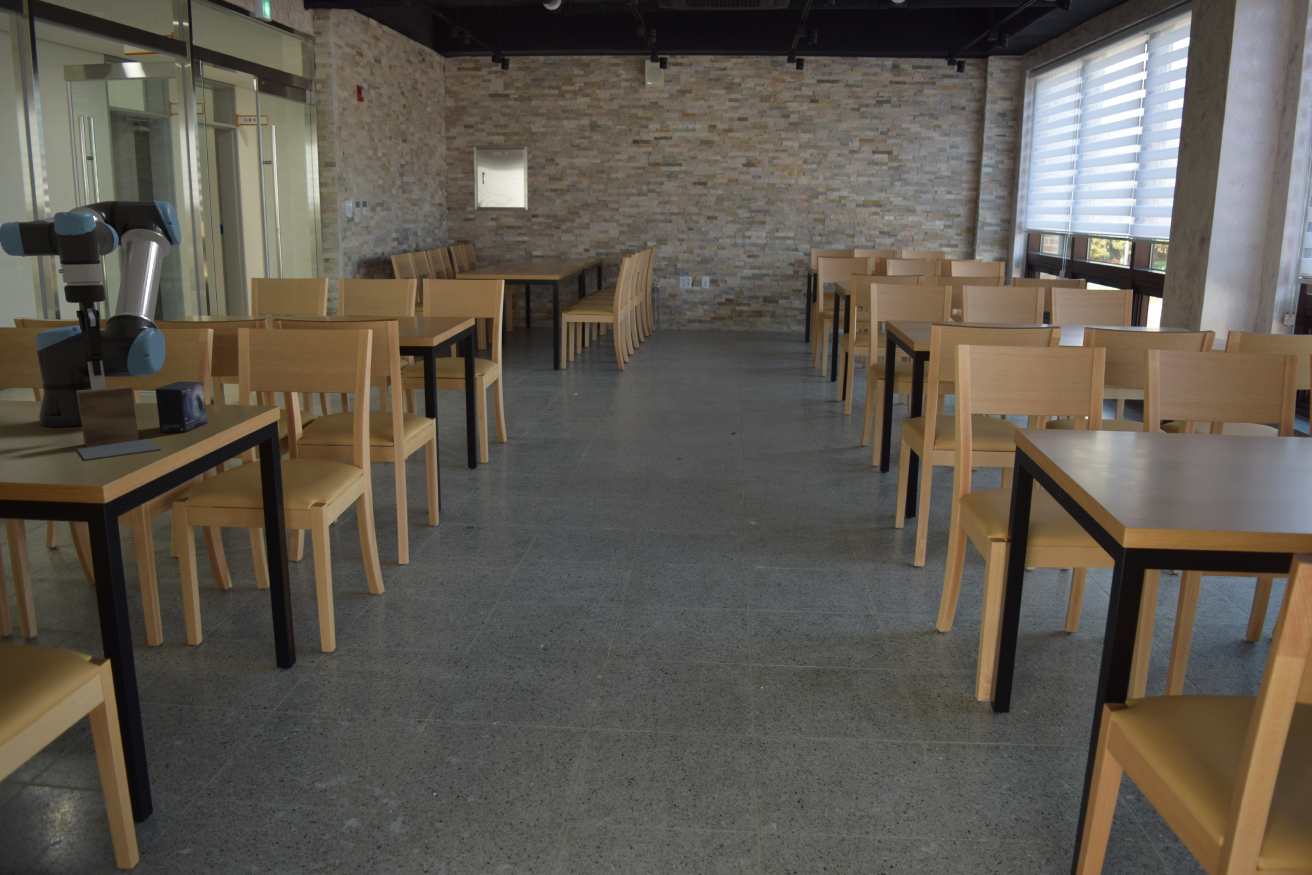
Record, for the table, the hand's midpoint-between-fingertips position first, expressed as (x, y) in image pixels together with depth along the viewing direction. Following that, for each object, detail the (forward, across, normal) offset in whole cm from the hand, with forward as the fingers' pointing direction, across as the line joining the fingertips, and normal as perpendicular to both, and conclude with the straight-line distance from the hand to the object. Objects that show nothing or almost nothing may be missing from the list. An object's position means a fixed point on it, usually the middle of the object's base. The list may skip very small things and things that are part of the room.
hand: (98, 389), depth 205 cm
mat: (+11, +17, 0) cm, 20 cm away
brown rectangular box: (+11, +8, 0) cm, 13 cm away
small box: (+11, +2, +16) cm, 20 cm away
